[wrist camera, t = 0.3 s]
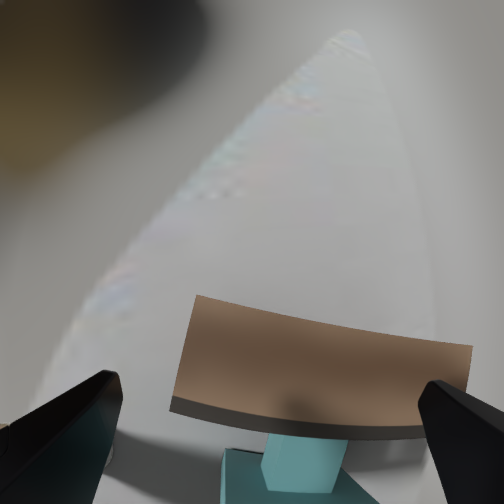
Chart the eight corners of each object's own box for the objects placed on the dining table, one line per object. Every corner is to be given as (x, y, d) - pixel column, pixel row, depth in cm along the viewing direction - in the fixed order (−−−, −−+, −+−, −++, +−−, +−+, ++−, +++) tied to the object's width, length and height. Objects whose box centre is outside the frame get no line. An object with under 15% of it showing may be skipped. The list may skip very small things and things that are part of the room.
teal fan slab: (329, 474, 19) (405, 555, 6) (221, 463, 18) (219, 568, 6) (350, 398, 21) (459, 435, 8) (241, 381, 21) (260, 434, 8)
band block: (381, 409, 21) (455, 434, 11) (193, 381, 21) (169, 411, 11) (393, 349, 23) (472, 345, 13) (209, 314, 22) (196, 294, 13)
